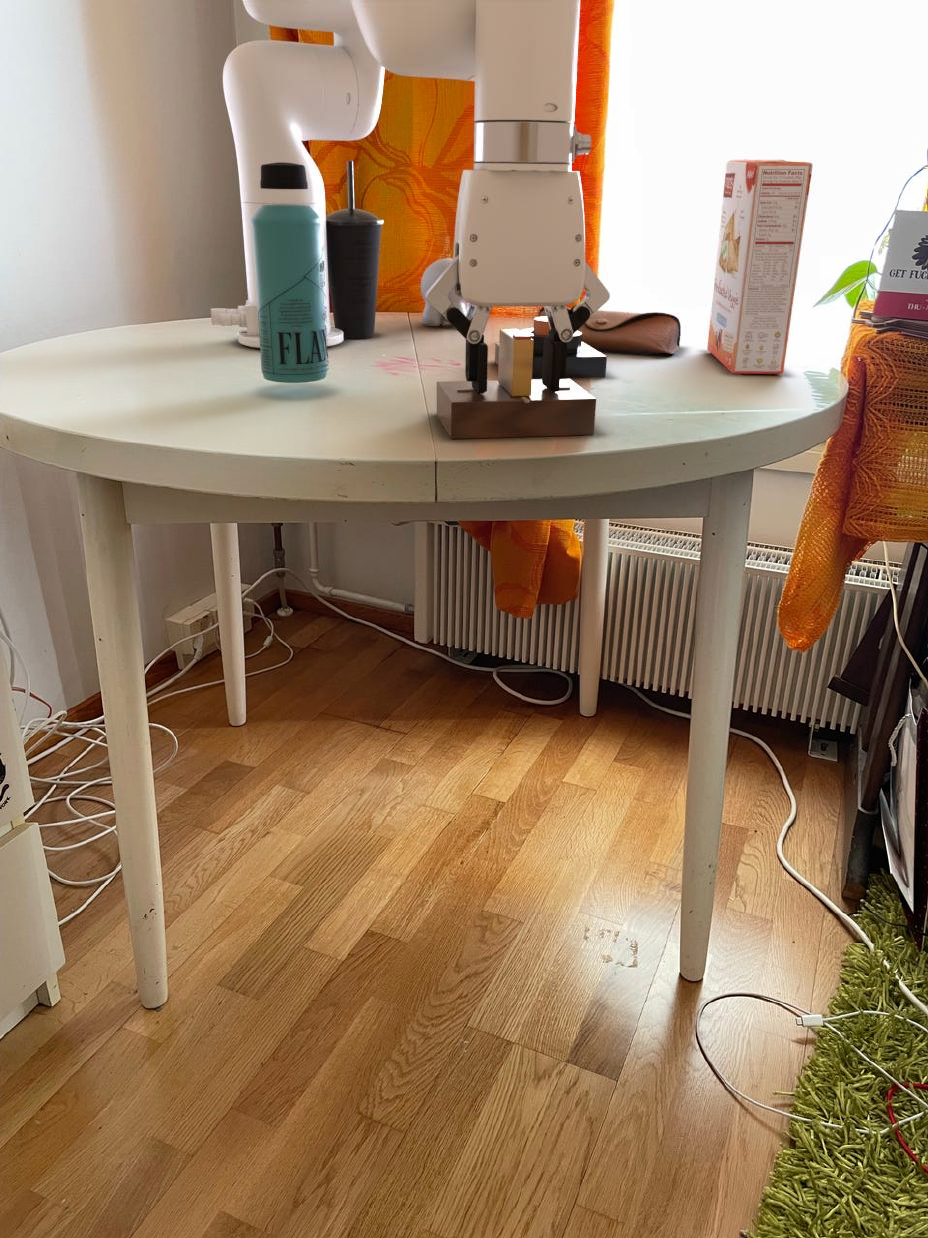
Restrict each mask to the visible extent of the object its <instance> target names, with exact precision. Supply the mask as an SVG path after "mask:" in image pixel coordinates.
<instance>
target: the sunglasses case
mask: <svg viewBox="0 0 928 1238" xmlns="http://www.w3.org/2000/svg"><path fill="white" fill-rule="evenodd" d="M566 308H567V311H569V310H570V309H571V308H572V307H571V308H570V307H567V306H566ZM537 317H547V316H546V313H545V309H544V306H542V307H541V308H540V309H539V312H538V314H537ZM577 331H579V332H581V333H582V342H584V343H585V344H587V345H589V346H590V347H592V348H594V349H595V350H597V351H598V352H600V353H607V354H618V355H653V354H654V355H655V354H667V355H668V354H670V355H675V354H676V353H677V351H678V350H680V347H681V346H680V342H681V336H682V335H681V334H682V333H681V321H680V319H679V318H678V317H677V316H675V315H673V314H670V313H665V312H657V311H655V312H654V311H653V312H644V313H643V312H642V313H640V312H629V311H615V310H613V311H612V310H603V309H600V310H599V309H598V310H597V311H596V312H595V313H593V314H592V315H591V316H590V317H589V319H588V320H587V321H586V322H585V323H584V324H583V325H582V326H581V327H580V328H579V329H578V330H577Z"/></svg>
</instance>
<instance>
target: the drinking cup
mask: <svg viewBox="0 0 928 1238" xmlns="http://www.w3.org/2000/svg"><path fill="white" fill-rule="evenodd" d="M346 167H347V169H346V170H347V171H346V173H347V198H348V199H347V202H348V203H347V204H348V208H342V209H338V210H335V211H332V212H331V213H329V214H326V235H327V259H328V283H329V294H330V299H331V308H332V309H331V310H332V317H333V325H334V328H338V329H340V330H342V331H343V339H345V340H346V339H347V340H361V339H362V340H363V339H371V338H373V337H375V326H376V324H375V323H376V313H377V312H376V311H377V297H378V281H379V268H380V267H379V266H380V252H381V251H380V250H381V240H382V239H381V238H382V226H383V225H384V224H385V221H384V219H382V218H379V217H378V216H376V215H375V214H374V213H372V212H370V211H367V210H364V209H360V208H355V189H354V188H355V187H354V185H355V184H354V183H355V182H354V161H353V160H346Z"/></svg>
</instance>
